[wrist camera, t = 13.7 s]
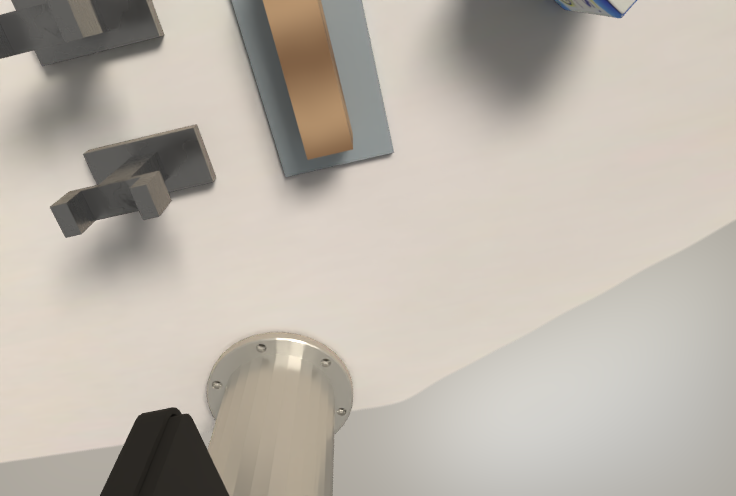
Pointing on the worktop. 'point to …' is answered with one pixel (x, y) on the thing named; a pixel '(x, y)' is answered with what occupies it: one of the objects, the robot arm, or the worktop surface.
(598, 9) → the medicine box
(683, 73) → the worktop surface
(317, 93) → the tan wooden bar
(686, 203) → the worktop surface
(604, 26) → the worktop surface
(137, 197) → the stand
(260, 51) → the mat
